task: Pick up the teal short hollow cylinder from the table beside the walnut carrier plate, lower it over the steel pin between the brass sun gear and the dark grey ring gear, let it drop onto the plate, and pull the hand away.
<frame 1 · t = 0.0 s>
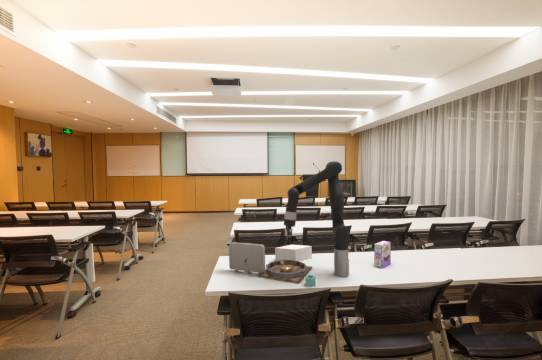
hand: (287, 242, 177), 22 cm above the table, tool pointing down, fingers open, 8 cm apart
network device: (247, 272, 186), on the table, touching carrier plate
ring gear: (286, 268, 184), point 2 cm above the table
sun gear: (286, 268, 184), in the ring gear, point 2 cm above the table
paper: (293, 260, 212), on the table
teal short hollow cylinder: (310, 284, 164), on the table
candy box: (382, 265, 195), on the table
carrier plate: (286, 272, 184), on the table
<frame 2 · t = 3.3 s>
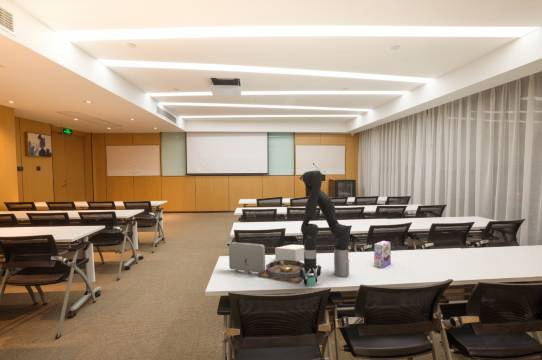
hand: (310, 283, 164), 1 cm above the table, tool pointing down, fingers closed on teal short hollow cylinder, 6 cm apart
teal short hollow cylinder: (310, 284, 164), on the table, touching gripper
everything else where it was.
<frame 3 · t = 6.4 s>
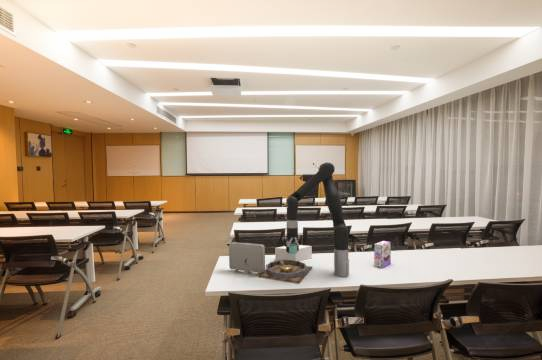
hand: (292, 251, 179), 16 cm above the table, tool pointing down, fingers closed on teal short hollow cylinder, 6 cm apart
teal short hollow cylinder: (292, 252, 179), point 15 cm above the table, touching gripper
everything else where it was.
when the fingers open (4 cm above the table, at t = 9.8 s): teal short hollow cylinder drops 1 cm, resting on carrier plate.
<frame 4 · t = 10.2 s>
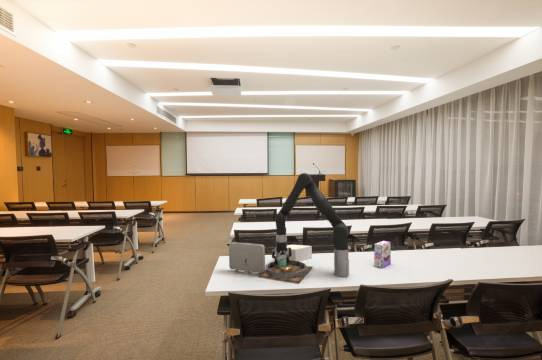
hand: (281, 263, 192), 4 cm above the table, tool pointing down, fingers open, 8 cm apart
teal short hollow cylinder: (282, 266, 192), point 1 cm above the table, touching carrier plate
everything else where it was.
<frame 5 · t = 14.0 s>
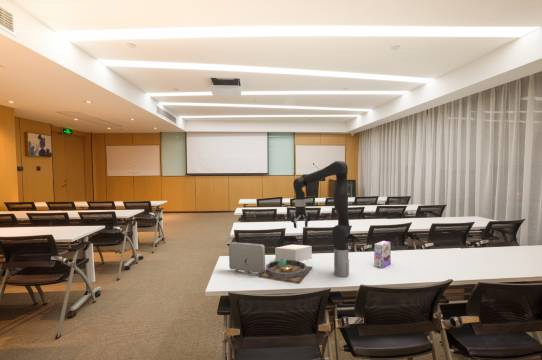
hand: (300, 227, 197), 28 cm above the table, tool pointing down, fingers open, 8 cm apart
nothing on the table moved.
at the end: teal short hollow cylinder 0.1 cm from the target spot on the carrier plate, point 1.5 cm above the carrier plate's base; teal short hollow cylinder tilted 0°; the gripper is holding nothing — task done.
